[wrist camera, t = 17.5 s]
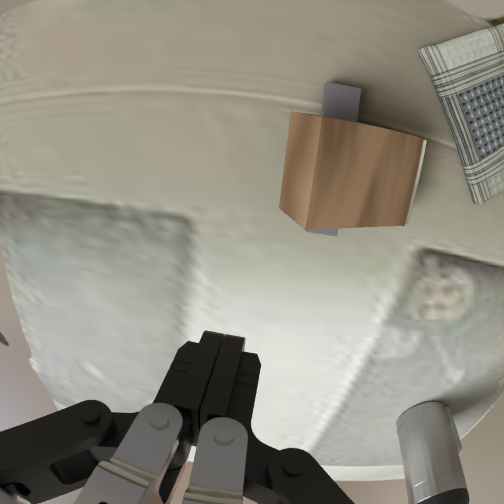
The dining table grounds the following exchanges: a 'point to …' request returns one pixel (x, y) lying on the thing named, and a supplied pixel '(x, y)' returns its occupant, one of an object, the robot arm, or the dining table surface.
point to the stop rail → (339, 116)
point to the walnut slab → (349, 173)
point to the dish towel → (473, 103)
